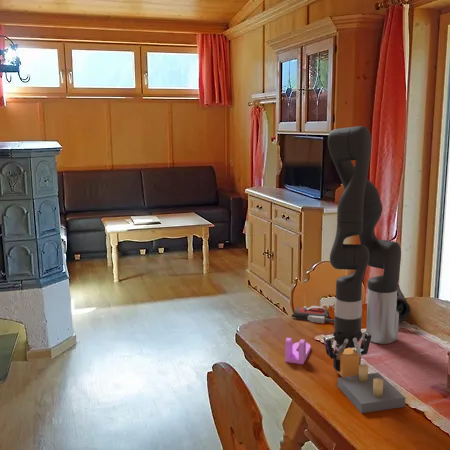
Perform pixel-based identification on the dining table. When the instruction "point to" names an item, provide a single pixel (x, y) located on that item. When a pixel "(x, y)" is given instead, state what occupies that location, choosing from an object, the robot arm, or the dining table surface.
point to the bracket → (296, 351)
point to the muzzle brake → (402, 306)
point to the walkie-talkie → (312, 314)
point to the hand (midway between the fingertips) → (346, 369)
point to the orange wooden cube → (349, 363)
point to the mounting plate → (370, 391)
